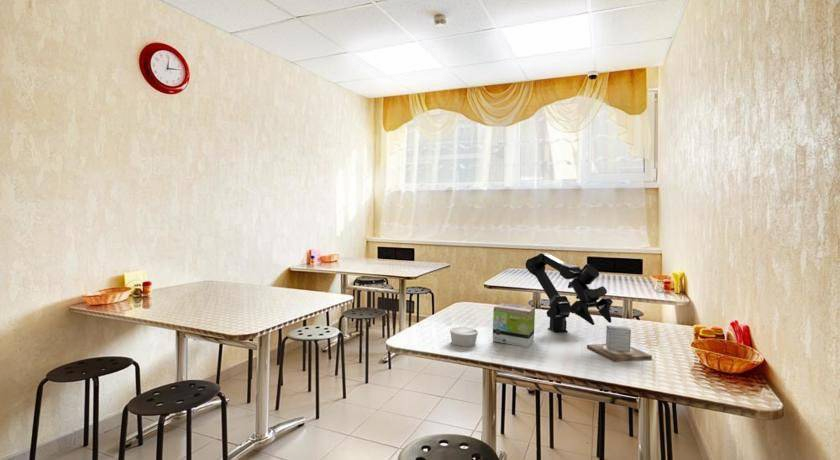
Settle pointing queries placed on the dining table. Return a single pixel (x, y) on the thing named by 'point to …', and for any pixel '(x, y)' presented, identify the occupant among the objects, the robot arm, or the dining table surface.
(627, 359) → the walnut board
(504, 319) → the tea box
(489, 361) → the dining table surface
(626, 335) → the medicine box
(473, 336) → the ramekin
